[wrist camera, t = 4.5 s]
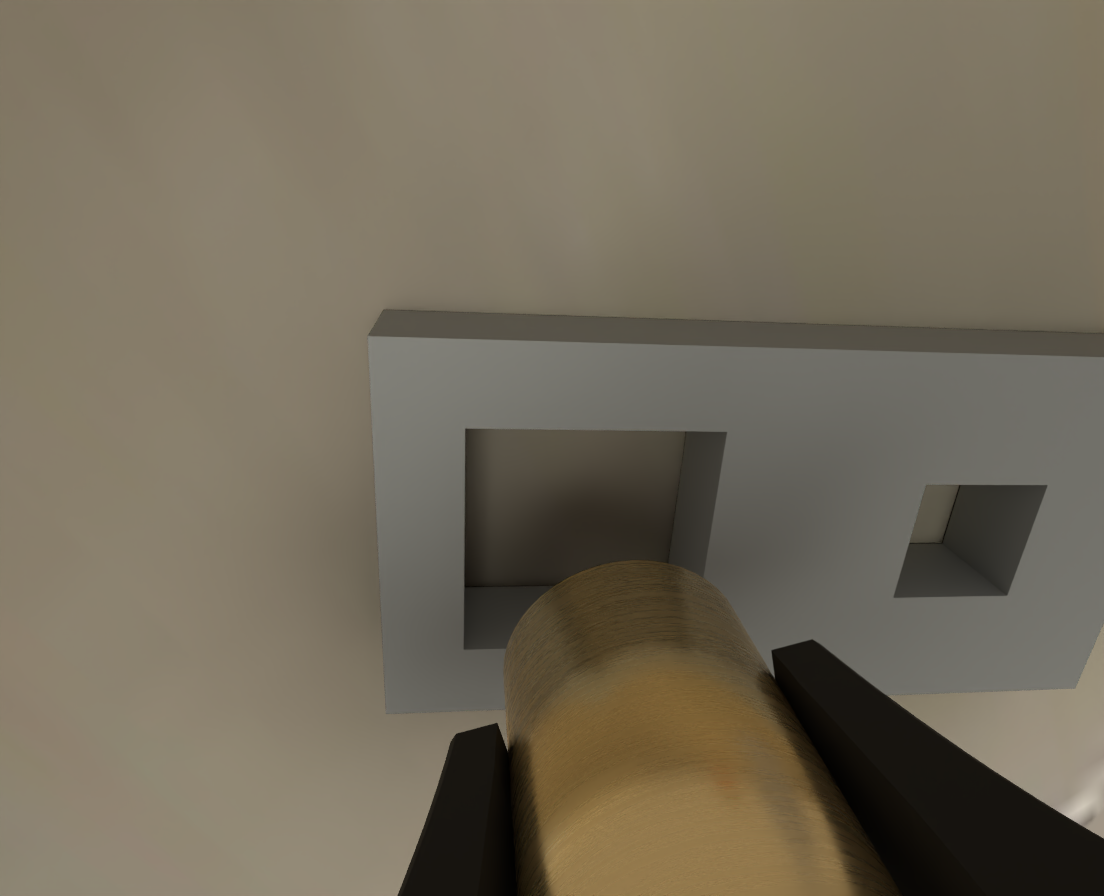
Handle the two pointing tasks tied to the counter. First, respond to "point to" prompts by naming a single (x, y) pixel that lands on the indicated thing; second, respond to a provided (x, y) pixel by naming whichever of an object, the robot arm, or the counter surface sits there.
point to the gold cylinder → (665, 752)
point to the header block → (766, 487)
